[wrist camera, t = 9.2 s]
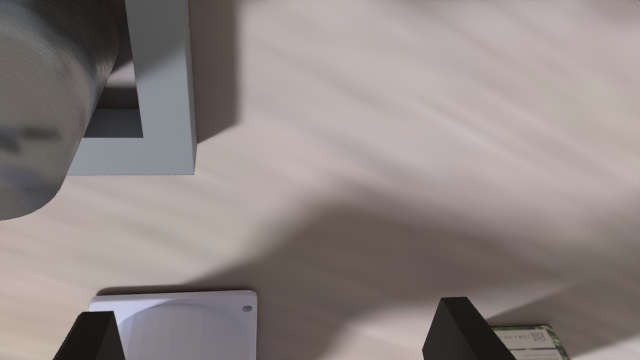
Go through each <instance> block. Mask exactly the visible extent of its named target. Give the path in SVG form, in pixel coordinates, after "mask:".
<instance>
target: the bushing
mask: <svg viewBox="0 0 640 360" xmlns="http://www.w3.org/2000/svg"><path fill="white" fill-rule="evenodd" d="M118 52H119V32H118V27H117V24H116V21H115V18H114V16H113V14H112V12H111V10H110V8H109V7H108V5H107V3H106V2H105V1H104V0H0V221H1V220H8V219H13V218H18V217H22V216H24V215H27V214H30V213H32V212H34V211H36V210H38V209H40V208H41V207H43V206H44V205H46V204H47V203H48V202H49V201H50V200H51V199H52V198H53V197H54V196H55V195H56V194H57V192H58V191H59V190H60V188H61V186H62V184H63V181H64V179H65V177H66V175H67V172H68V170H69V168H70V165H71V163H72V161H73V158H74V156H75V154H76V152H77V149H78V147H79V145H80V142H81V140H82V138H83V135H84V133H85V131H86V128H87V126H88V124H89V121H90V119H91V117H92V115H93V112H94V110H95V108H96V105H97V103H98V101H99V98H100V96H101V94H102V91H103V89H104V87H105V85H106V82H107V80H108V78H109V75H110V73H111V71H112V68H113V66H114V64H115V61H116V59H117V56H118Z"/></svg>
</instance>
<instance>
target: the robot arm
mask: <svg viewBox="0 0 640 360" xmlns="http://www.w3.org/2000/svg"><path fill="white" fill-rule="evenodd" d="M246 305H249V306H246ZM89 311H90V312H82V313H81V314H80V315H78V317H77V319H76V321H75V323H74V324H73V326H72V328H71V330H70V331H69V333H68V335H67V337H66V338H65V340H64V342H63V343H62V345H61V347H60V348H59V350H58V352H57V353H56V355H55V357H54V358H53V360H256V334H257V294H256V293H255V292H253V291H251V290H236V291H210V292H184V293H158V294H133V295H107V296H96V297H94V298H92V299H91V300H90V304H89ZM422 352H423V357H424V360H517V359H516V358H515V357H514V355H513V354H512V353H511V352H510V351H509V349H508V348H507V347H506V346H505V344H504V343H503V342H502V341H501V339H500V338H499V337H498V336H497V334H496V333H495V332H494V331H493V329H492V328H491V327H490V326H489V324H488V323H487V322H486V321H485V319H484V318H483V317H482V316H481V314H480V313H479V312H478V310H477V309H476V308H475V307H474V305H473V304H472V303H471V302H470V300H469V299H468V298H467V297H447V298H441V299H440V302H439V305H438V308H437V310H436V313H435V316H434V319H433V321H432V324H431V327H430V330H429V332H428V335H427V338H426V341H425V343H424V346H423V349H422Z"/></svg>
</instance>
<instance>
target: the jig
mask: <svg viewBox="0 0 640 360" xmlns="http://www.w3.org/2000/svg"><path fill="white" fill-rule="evenodd" d="M125 6H126V13H127V21H128V28H129V35H130V42H131V50H132V57H133V64H134V71H135V79H136V86H137V93H138V101H139V108H140V109H110V108H95V110H94V112H93V115H92V117H91V119H90V121H89V124H88V126H87V128H86V131H85V133H84V135H83V138H82V140H81V142H80V145H79V147H78V149H77V152H76V154H75V156H74V158H73V161H72V163H71V165H70V168H69V170H68V172H67V175H66V176H98V175H194V171H195V161H196V152H197V133H196V117H195V102H194V86H193V71H192V55H191V40H190V24H189V9H188V0H125Z"/></svg>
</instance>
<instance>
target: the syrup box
mask: <svg viewBox="0 0 640 360" xmlns="http://www.w3.org/2000/svg"><path fill="white" fill-rule="evenodd" d="M492 329H493V331H494V332H495V333H496V334H497V336H498V337H499V338H500V339H501V341H502V342H503V343H504V344H505V346H506V347H507V348H508V349H509V351H510V352H511V353H512V354H513V355H514V357H515V358H516V359H517V360H571V359H570V358H569V356H568V354H567V353H566V351H565V349H564V347H563V345H562V344H561V342H560V340H559V338H558V337H557V335H556V334H555V332H554V330H553V329H552V327H551V326H550V325H547V326H522V327H496V328H492Z"/></svg>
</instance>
